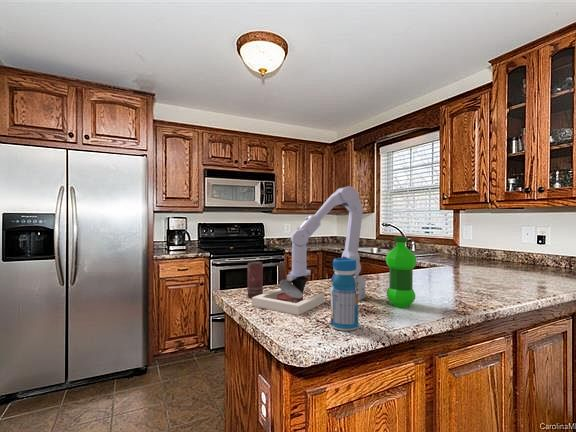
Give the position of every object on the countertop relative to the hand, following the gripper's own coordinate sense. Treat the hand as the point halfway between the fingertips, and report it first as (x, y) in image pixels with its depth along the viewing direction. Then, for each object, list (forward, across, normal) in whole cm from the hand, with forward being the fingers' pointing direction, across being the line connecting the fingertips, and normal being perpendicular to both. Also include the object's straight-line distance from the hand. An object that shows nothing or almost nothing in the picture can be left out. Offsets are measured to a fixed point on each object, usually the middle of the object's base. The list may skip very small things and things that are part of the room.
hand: (299, 296), depth 125 cm
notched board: (+1, +7, 0) cm, 7 cm away
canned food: (+2, +7, 0) cm, 7 cm away
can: (+2, +6, -17) cm, 18 cm away
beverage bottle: (+2, +18, +27) cm, 32 cm away
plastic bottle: (+2, -14, +35) cm, 38 cm away
